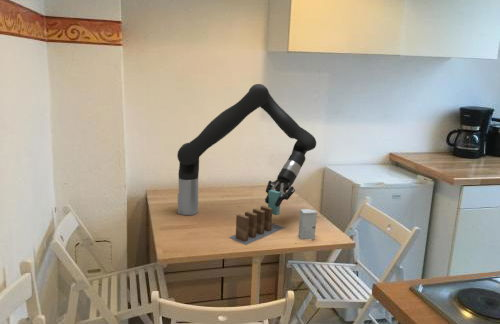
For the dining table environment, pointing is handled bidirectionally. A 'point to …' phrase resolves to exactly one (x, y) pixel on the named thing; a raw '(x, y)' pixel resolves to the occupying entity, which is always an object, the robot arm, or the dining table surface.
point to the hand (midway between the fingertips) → (271, 204)
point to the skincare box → (307, 224)
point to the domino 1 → (242, 227)
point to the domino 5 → (274, 201)
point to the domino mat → (258, 236)
